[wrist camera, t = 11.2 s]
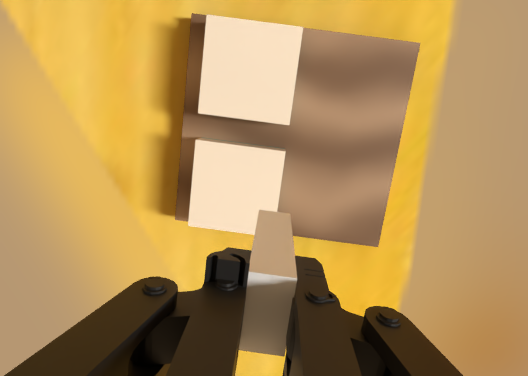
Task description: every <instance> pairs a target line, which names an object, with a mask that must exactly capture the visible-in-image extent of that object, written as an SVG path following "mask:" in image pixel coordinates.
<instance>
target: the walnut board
mask: <svg viewBox="0 0 528 376" xmlns="http://www.w3.org/2000/svg"><path fill="white" fill-rule="evenodd" d="M206 16H207V15H201V14H193V13H192V16H191V28H190V41H189V53H188V65H187V78H186V90H185V103H184V115H183V128H182V140H181V153H180V165H179V178H178V190H177V203H176V215H175V220H180V221H188V219H189V208H190V197H191V185H192V174H193V163H194V151H195V140H196V139H199V138H202V137H203V138H211V139H218V140H226V141H233V142H241V143H248V144H256V145H263V146H271V147H279V148H285V151H286V153H285V160H284V167H283V174H282V181H281V188H280V195H279V202H278V209H277V212H281V213H288V214H290V216H291V225H292V234H293V236H299V237H307V238H314V239H322V240H329V241H337V242H344V243H352V244H359V245H366V246H374V247H378V245H379V240H380V235H381V230H382V225H383V220H384V216H385V211H386V206H387V201H388V196H389V191H390V187H391V182H392V177H393V172H394V167H395V163H396V158H397V153H398V148H399V143H400V138H401V134H402V129H403V124H404V119H405V114H406V109H407V105H408V100H409V95H410V90H411V85H412V81H413V76H414V71H415V66H416V61H417V56H418V52H419V47H420V43H416V42H408V41H401V40H393V39H385V38H378V37H370V36H362V35H355V34H347V33H339V32H332V31H324V30H316V29H309V28H303V33H302V40H301V47H300V54H299V61H298V68H297V75H296V82H295V90H294V97H293V104H292V111H291V118H290V125H283V124H275V123H268V122H260V121H252V120H245V119H237V118H230V117H222V116H215V115H207V114H199V113H198V106H199V95H200V84H201V72H202V61H203V50H204V38H205V27H206Z"/></svg>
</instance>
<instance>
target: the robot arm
mask: <svg viewBox="0 0 528 376" xmlns="http://www.w3.org/2000/svg"><path fill="white" fill-rule="evenodd" d="M285 349H286V351H287V352H286V358H285V364H284V370H283V376H463V375H462V374H461V373H460V372H459V371H458V370H457V369H456V368H455V367H454V366H453V365H452V364H451V363H450V361H449V360H448V359H447V358H446V357H445V356H444V355H443V354H442V353H441V352H440V351H439V350H438V349H437V348H436V347H435V346H434V345H433V344H432V343H431V342H430V341H429V340H428V339H427V338H426V337H425V336H424V335H423V333H422V332H421V331H419V329H418V328H417V327H416V326H415V325H414V324H413V323H412V322H411V321H410V320H409V319H408V318H406V317H405V316H404V315H403V314H401V313H399V312H397V311H396V310H394V309H392V308H389V307H381V306H373V307H369V308H368V309H366V311H365V315H364V317H362V316H359V315H356V314H353V313H350V312H348V311H345V310H344V309H342V308H341V306H340V302H339V300H338V298H337V297H336V295H334V294H333V293H332V292H330V291H329V289H328V285H327V281H326V278H325V274H324V270H323V267H322V264H321V263H320V262H318V261H317V260H316V259H315V258H308V257H301V256H295V253H294V244H293V234H292V225H291V216H290V214H288V213H281V212H274V211H266V210H259V213H258V219H257V224H256V230H255V235H254V241H253V246H252V251H250V250H243V249H236V248H226V249H225V250H223V251H219V252H214V253H211V254H210V255H208V256H207V260H206V270H205V280H204V284H203V286H202V288H201V289H198V290H194V291H187V292H178V287H177V284H176V283H175V282H174V281H172V280H170V279H167V278H161V277H149V278H144V279H141V280H139V281H137V282H135V283H133V284H132V285H130V286H129V287H128V288H126V289H125V290H123V291H122V292H121V293H119V294H118V295H116V296H115V297H114V298H112V299H111V300H109V301H108V302H107V303H105V304H104V305H102V306H101V307H100V308H99V309H97V310H95V311H94V312H93V313H91V314H90V315H88V316H87V317H86V318H84V319H83V320H81V321H80V322H79V323H77V324H76V325H74V326H73V327H72V328H70V329H69V330H67V331H66V332H65V333H63V334H62V335H60V336H59V337H58V338H56V339H55V340H53V341H52V342H51V343H49V344H48V345H46V346H45V347H43V348H42V349H41V350H39V351H38V352H37V353H35V354H34V355H32V356H31V357H29V358H28V359H27V360H25V361H24V362H23V363H21V364H20V365H18V366H17V367H15V368H14V369H13V370H11V371H10V372H8V373H7V374H6V375H4V376H235V371H236V365H237V358H238V350H243V351H250V352H257V353H264V354H271V355H278V356H284V355H285Z"/></svg>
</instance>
